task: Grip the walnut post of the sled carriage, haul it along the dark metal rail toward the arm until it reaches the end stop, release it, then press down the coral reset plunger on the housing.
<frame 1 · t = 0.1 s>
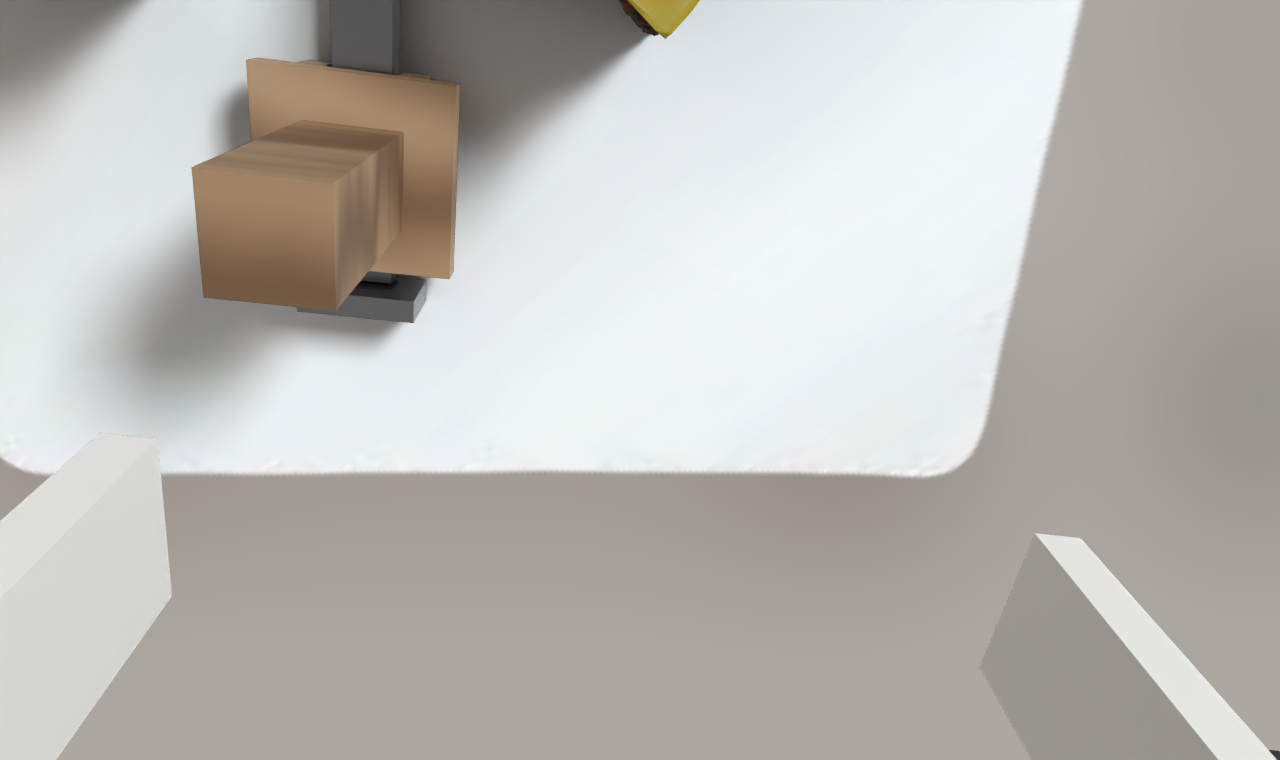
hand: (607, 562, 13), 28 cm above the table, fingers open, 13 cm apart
carriage: (328, 195, 31), point 7 cm above the table, slide at 5.5 cm
rail: (370, 28, 35), on the table
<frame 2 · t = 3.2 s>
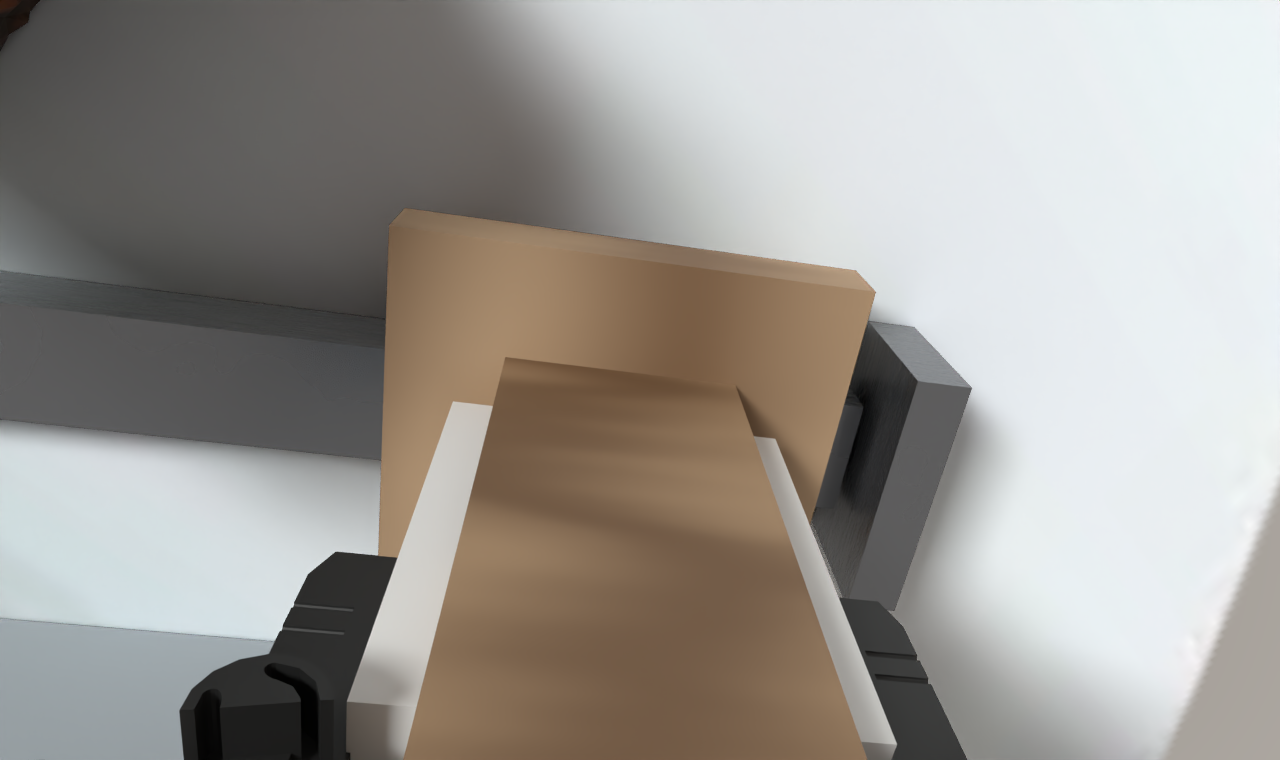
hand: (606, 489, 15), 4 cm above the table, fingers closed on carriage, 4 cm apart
carriage: (608, 600, 12), point 7 cm above the table, slide at 5.5 cm, touching gripper
rail: (341, 367, 17), on the table
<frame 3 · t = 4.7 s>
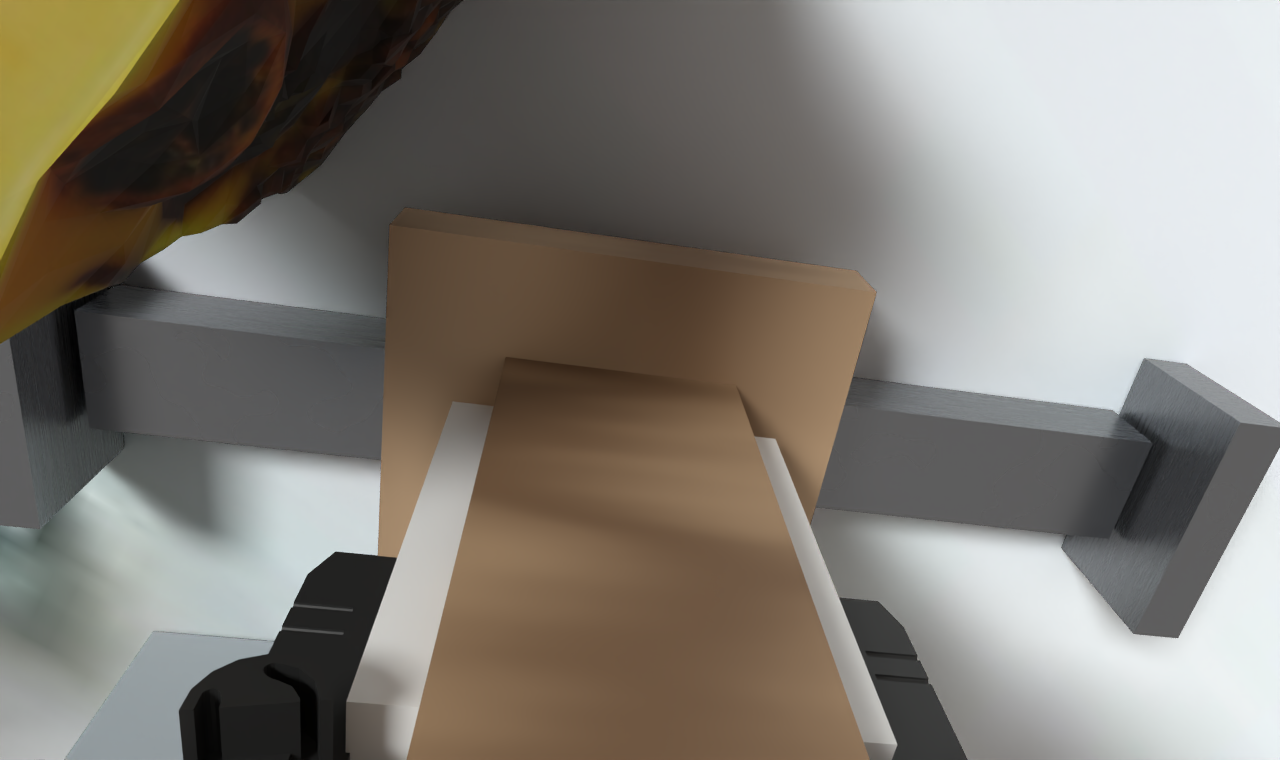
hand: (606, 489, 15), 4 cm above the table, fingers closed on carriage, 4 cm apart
carriage: (609, 601, 12), point 7 cm above the table, slide at -0.7 cm, touching gripper
rail: (638, 402, 18), on the table
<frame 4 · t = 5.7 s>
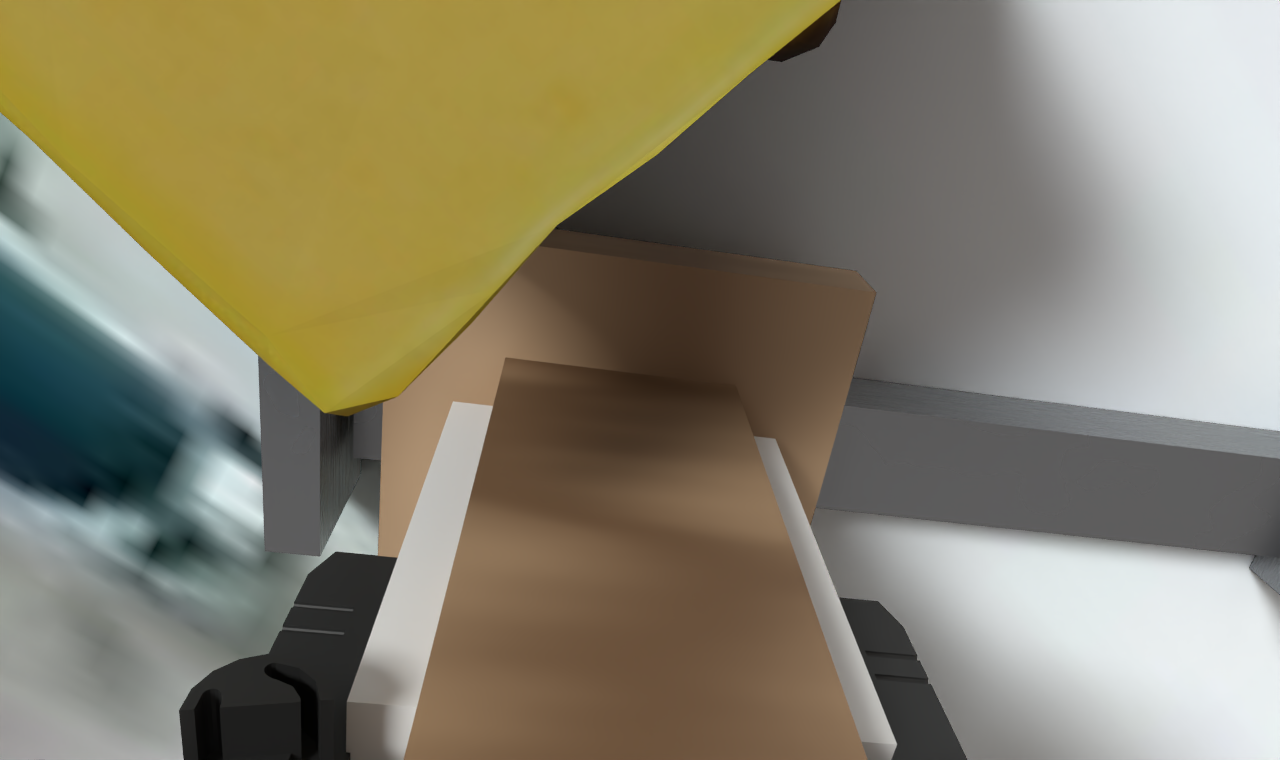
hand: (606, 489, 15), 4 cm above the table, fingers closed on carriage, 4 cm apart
carriage: (608, 601, 12), point 7 cm above the table, slide at -5.6 cm, touching gripper
rail: (858, 429, 19), on the table
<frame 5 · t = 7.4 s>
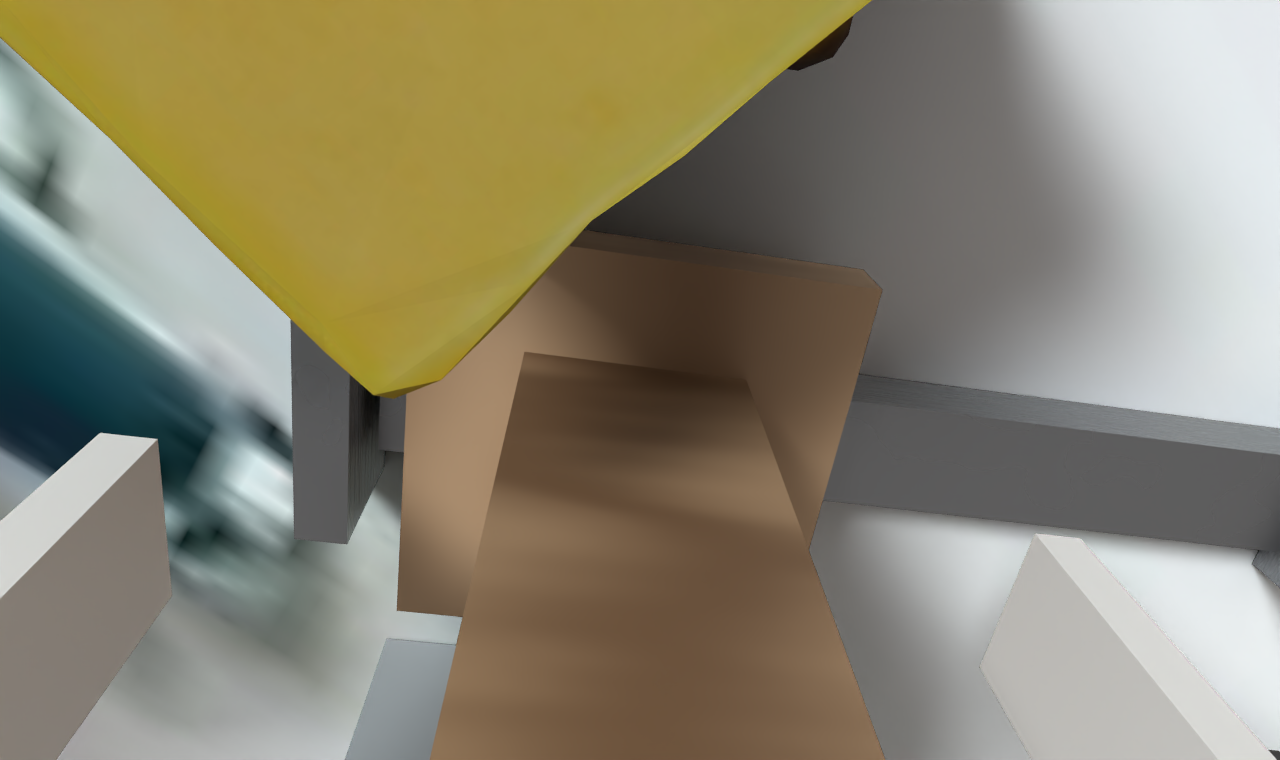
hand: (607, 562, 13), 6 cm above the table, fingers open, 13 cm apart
carriage: (624, 584, 13), point 7 cm above the table, slide at -5.7 cm
rail: (867, 425, 19), on the table
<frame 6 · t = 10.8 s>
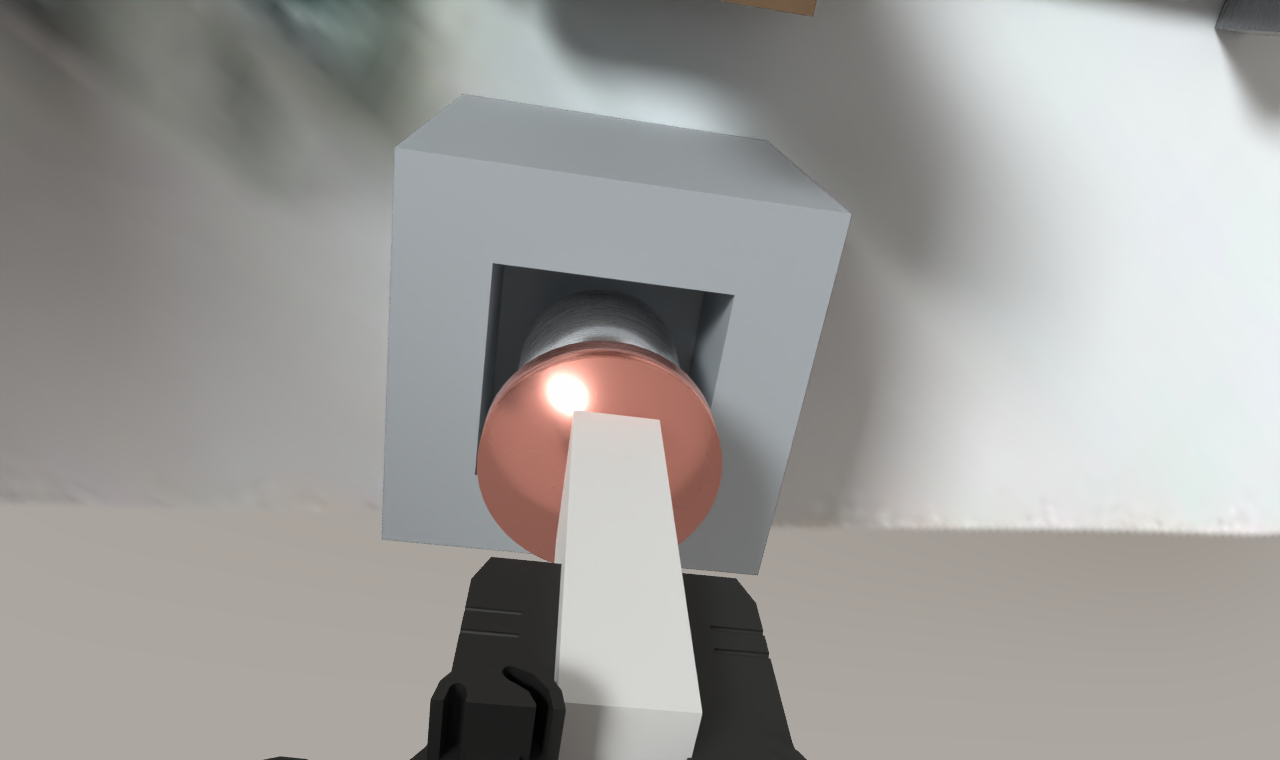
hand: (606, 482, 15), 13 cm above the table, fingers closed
plunger: (599, 410, 17), point 10 cm above the table, slide at 0.4 cm, touching gripper
housing: (597, 265, 26), on the table
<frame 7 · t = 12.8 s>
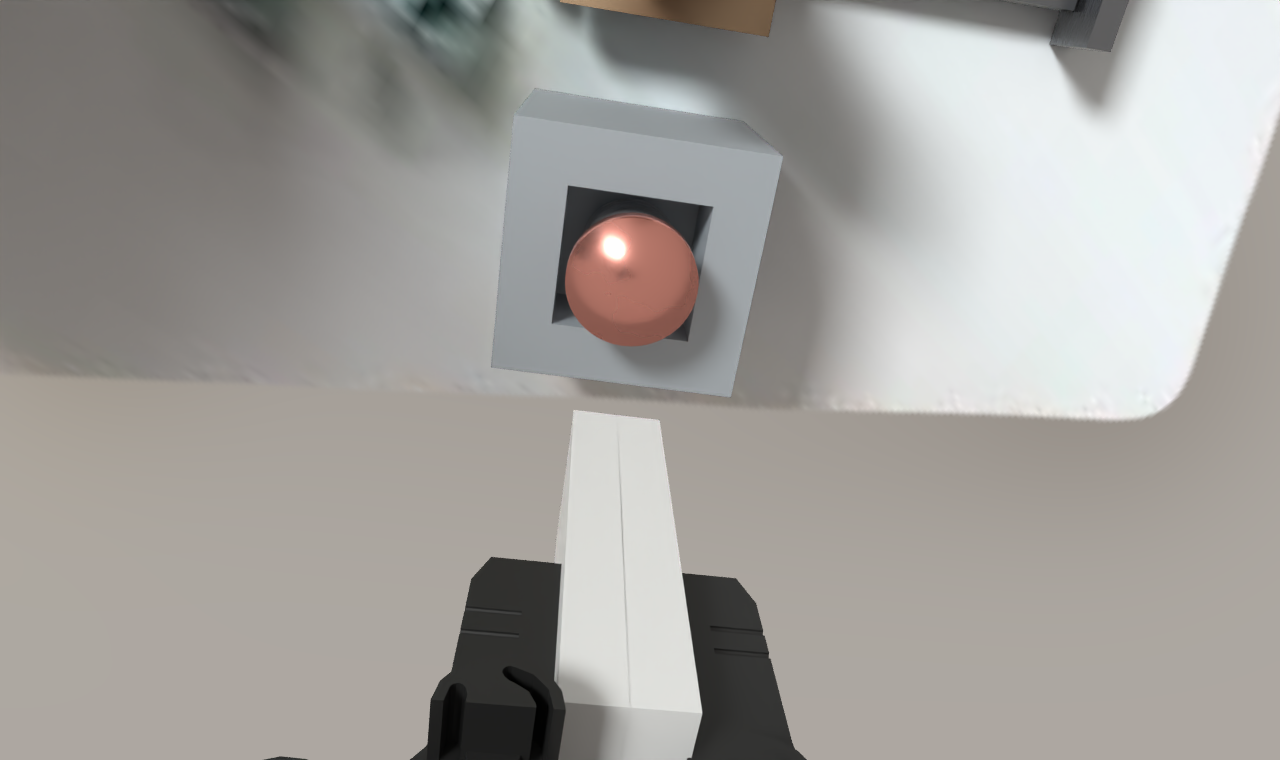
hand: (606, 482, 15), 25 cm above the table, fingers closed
plunger: (630, 263, 30), point 9 cm above the table, slide at 1.8 cm
housing: (625, 209, 38), on the table
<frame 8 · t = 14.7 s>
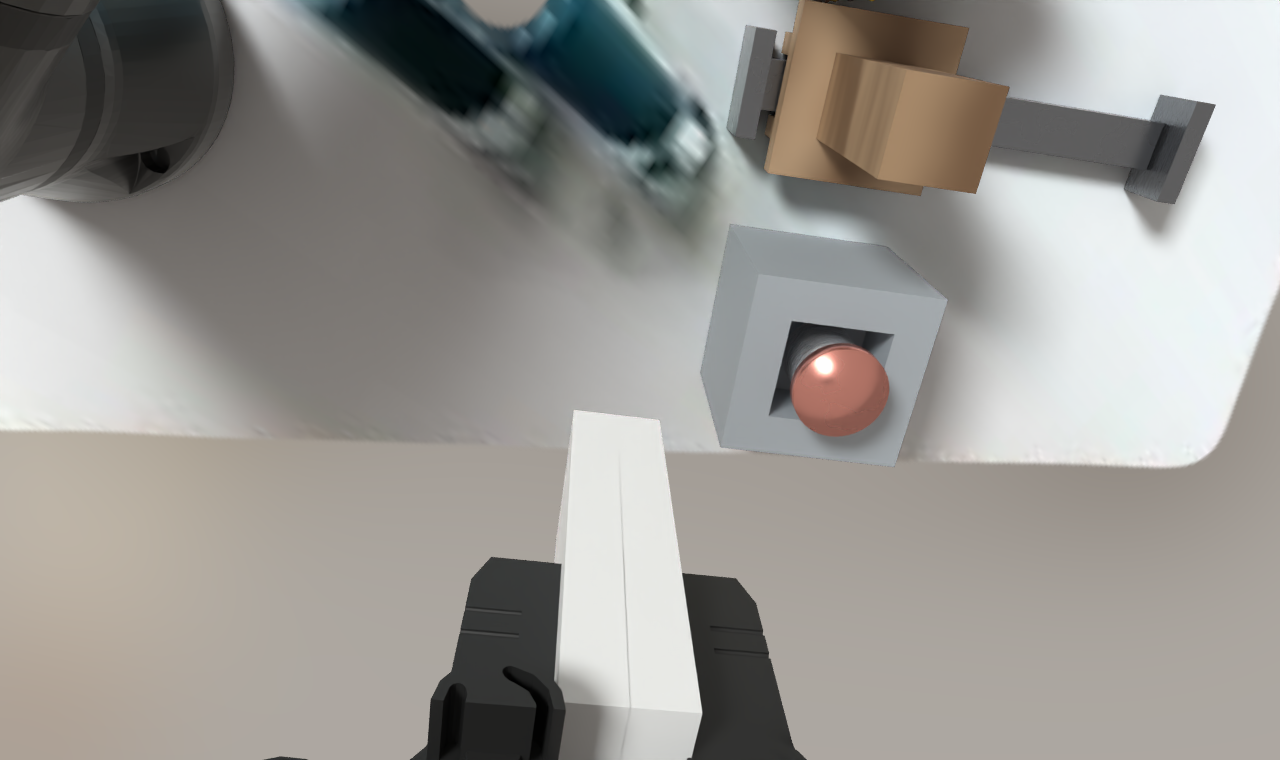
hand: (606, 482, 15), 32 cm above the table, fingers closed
plunger: (828, 372, 41), point 9 cm above the table, slide at 1.8 cm
carriage: (889, 112, 38), point 7 cm above the table, slide at -5.7 cm
housing: (791, 311, 48), on the table
rail: (953, 112, 44), on the table
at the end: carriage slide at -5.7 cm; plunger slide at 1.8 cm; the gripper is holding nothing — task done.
